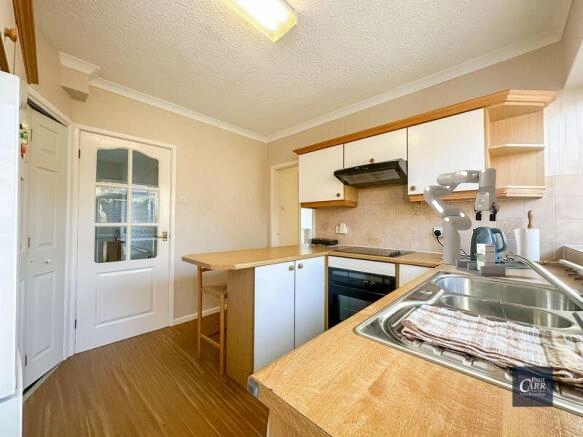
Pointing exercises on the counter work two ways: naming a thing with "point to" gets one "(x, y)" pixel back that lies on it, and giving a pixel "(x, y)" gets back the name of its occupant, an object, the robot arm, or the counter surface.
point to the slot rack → (484, 270)
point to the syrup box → (485, 255)
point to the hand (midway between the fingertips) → (485, 220)
